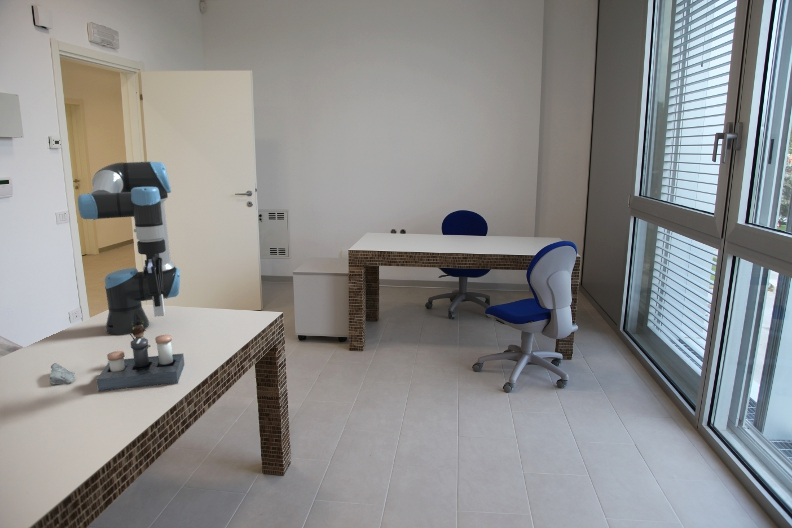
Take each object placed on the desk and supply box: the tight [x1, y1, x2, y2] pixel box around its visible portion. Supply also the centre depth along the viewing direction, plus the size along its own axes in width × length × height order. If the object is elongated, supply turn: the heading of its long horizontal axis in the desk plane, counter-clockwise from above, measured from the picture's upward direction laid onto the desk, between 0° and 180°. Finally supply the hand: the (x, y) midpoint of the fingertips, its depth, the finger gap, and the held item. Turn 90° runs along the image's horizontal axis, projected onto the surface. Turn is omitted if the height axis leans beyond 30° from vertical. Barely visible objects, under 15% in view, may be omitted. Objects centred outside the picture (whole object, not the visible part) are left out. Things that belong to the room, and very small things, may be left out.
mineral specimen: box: [48, 362, 75, 386], centre depth 164 cm, size 6×12×4 cm, turn 30°
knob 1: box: [106, 350, 125, 372], centre depth 161 cm, size 5×5×8 cm
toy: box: [129, 321, 151, 350], centre depth 174 cm, size 6×6×15 cm
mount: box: [96, 353, 185, 393], centre depth 163 cm, size 14×22×4 cm, turn 104°
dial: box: [129, 337, 149, 367], centre depth 162 cm, size 5×5×8 cm
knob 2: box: [154, 334, 173, 365], centre depth 163 cm, size 5×5×8 cm
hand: (159, 315), depth 161 cm, fingers closed
